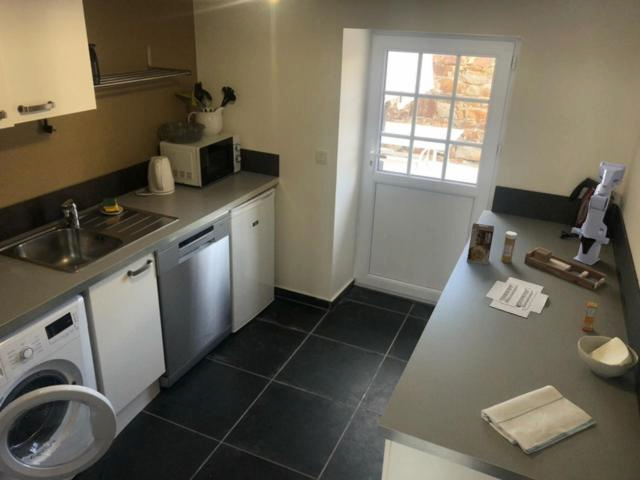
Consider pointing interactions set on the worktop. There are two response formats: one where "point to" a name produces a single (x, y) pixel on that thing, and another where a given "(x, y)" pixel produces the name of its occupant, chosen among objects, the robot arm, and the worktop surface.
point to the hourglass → (589, 316)
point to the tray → (517, 297)
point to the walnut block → (543, 255)
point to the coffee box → (480, 243)
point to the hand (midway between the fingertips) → (584, 253)
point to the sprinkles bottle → (508, 246)
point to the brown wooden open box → (567, 270)
